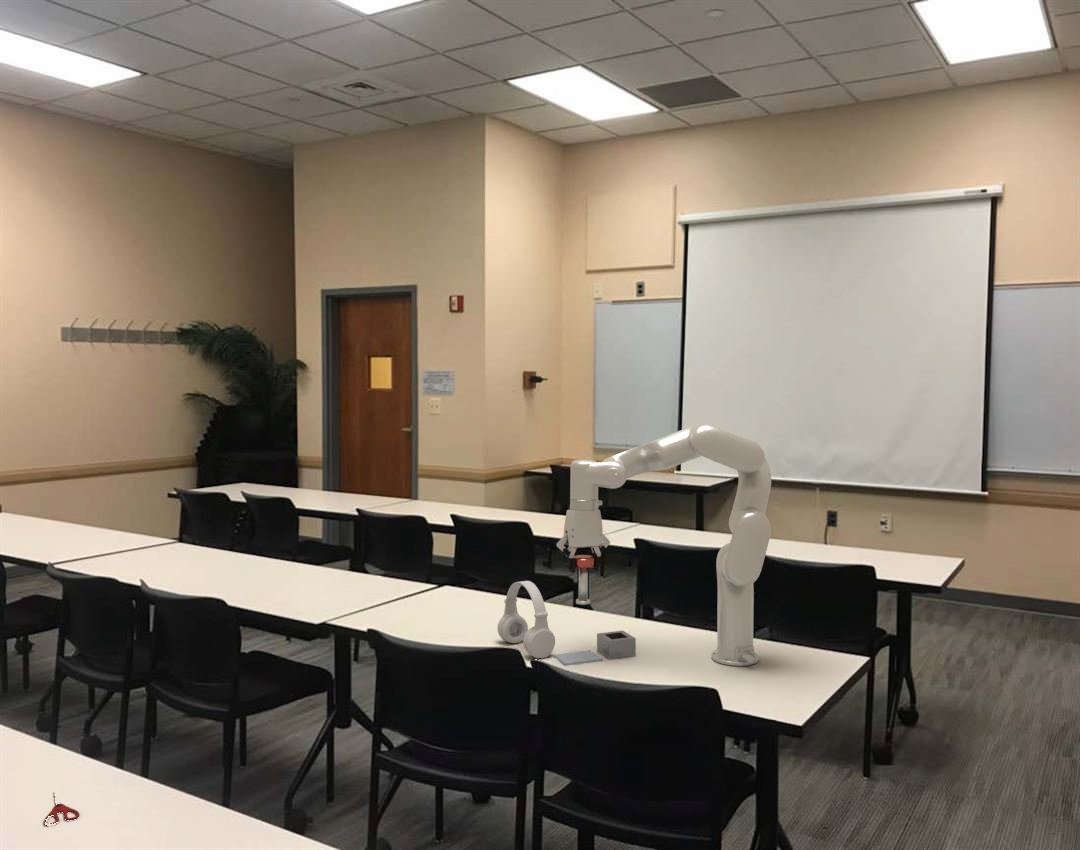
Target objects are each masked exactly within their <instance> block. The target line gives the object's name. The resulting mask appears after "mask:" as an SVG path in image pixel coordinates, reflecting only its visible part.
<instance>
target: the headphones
mask: <svg viewBox="0 0 1080 850" xmlns="http://www.w3.org/2000/svg"><path fill="white" fill-rule="evenodd" d="M521 587H524V588H525V590H526V591H527V593H528V594H529V597H530V599H531V602H532V605H533V609H534V614H533V615H534V626H533V627H530V628H529V626H528V622H527V620H526V619H525V618H524V617H523V616H521V615H520V614H519V611H518V608H517V607H518V606H517V603H518V602H517V601H518V599H517V597H518V593H519V590H520V588H521ZM504 604H505V605H504V610H503V611H504V612H503V615H502V617H501V618H500V619H499V621H498V623H497V634H498V636H499V637H500V638H501V639H502V640H503V641H504V642H507V643H511V644H518V643H520V642H522V641H523V643H522V644H523V648H524V649H525V651H526V652H527V654H529V655H530V656H532V658H536V659H539V658H541V659H545V658H547V657H549V656H550V655H551V654H552V652H553V651H554V649H555V647H556V637H555V635H554V634H555V633H553V631H552V630H551V629H550V627H549V623H548V616H549V614H548V611H546V610H547V609H546V606H545V601H544V599H543V596H542V594H541V592H540V590H539V588H538V587H537V586H536V584H535V583H534V582H532V581H531V580H524V581H523V580H522V581H516V582H513V583H512V584H511V585H510V587H509V588H508V591H507V594H506V597H505V599H504ZM544 657H545V658H544Z"/></svg>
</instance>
